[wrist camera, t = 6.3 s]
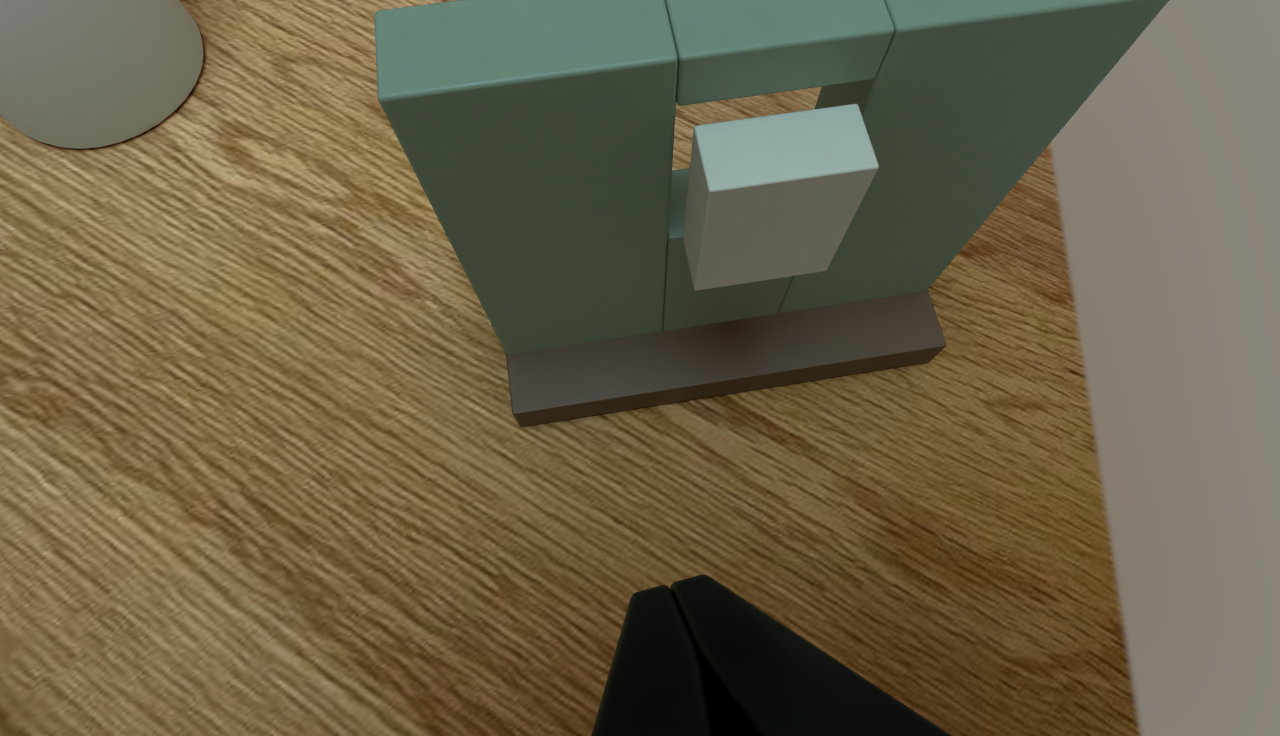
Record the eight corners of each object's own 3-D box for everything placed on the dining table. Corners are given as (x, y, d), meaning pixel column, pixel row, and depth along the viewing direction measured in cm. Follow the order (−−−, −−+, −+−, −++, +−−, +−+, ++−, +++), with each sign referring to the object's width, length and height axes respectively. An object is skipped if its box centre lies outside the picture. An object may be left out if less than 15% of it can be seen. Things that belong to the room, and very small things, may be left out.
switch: (826, 271, 16) (880, 166, 13) (694, 291, 16) (709, 191, 13) (811, 217, 17) (858, 102, 13) (682, 236, 17) (693, 124, 13)
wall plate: (929, 362, 24) (1230, 80, 11) (520, 427, 23) (379, 200, 11) (865, 168, 26) (1053, -224, 14) (498, 221, 26) (366, -144, 14)
